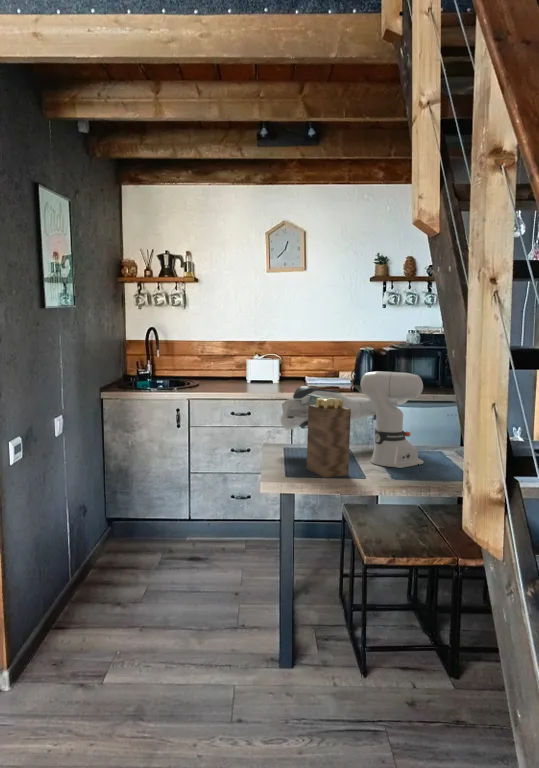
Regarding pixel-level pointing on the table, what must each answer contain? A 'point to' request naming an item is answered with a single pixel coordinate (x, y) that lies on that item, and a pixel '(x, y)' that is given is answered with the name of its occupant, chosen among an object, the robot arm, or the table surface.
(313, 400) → the gear axle
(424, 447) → the table surface
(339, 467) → the walnut stand
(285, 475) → the table surface
